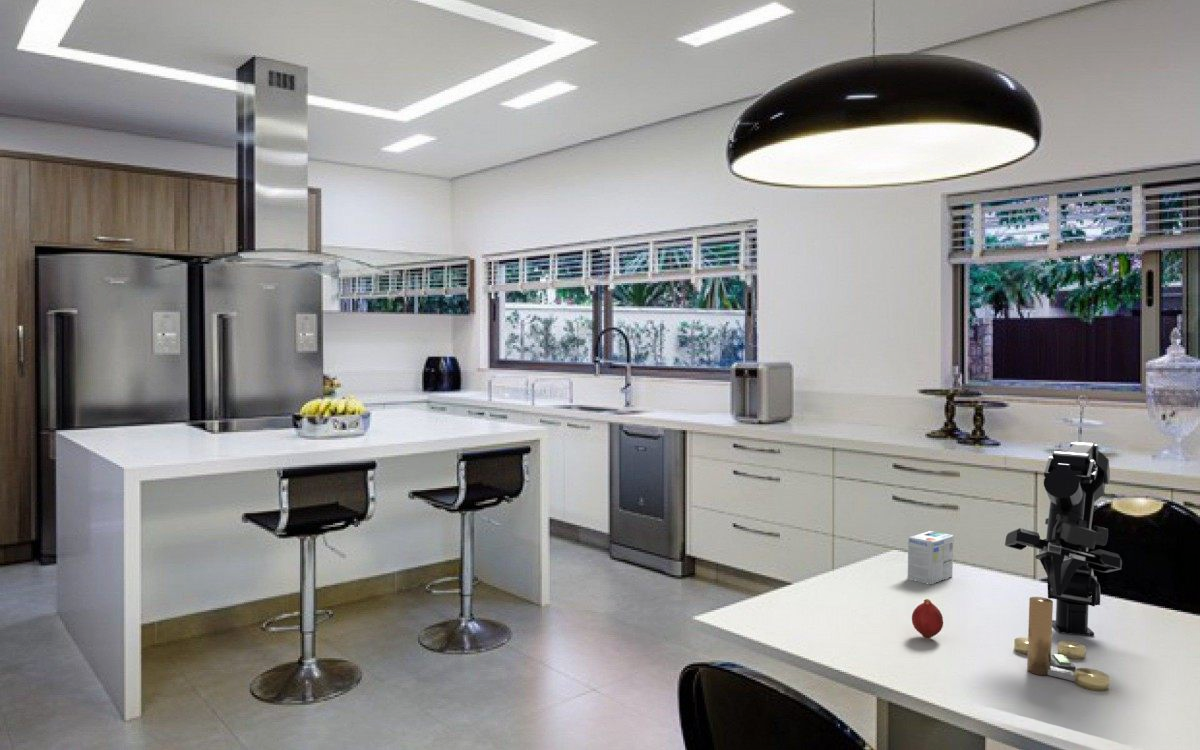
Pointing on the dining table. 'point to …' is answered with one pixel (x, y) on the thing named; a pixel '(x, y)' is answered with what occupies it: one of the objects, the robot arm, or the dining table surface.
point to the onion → (927, 619)
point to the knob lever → (1042, 649)
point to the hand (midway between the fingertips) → (1057, 595)
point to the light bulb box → (930, 557)
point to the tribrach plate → (1064, 652)
